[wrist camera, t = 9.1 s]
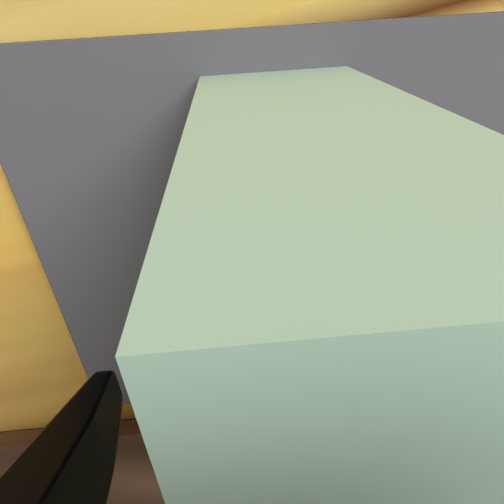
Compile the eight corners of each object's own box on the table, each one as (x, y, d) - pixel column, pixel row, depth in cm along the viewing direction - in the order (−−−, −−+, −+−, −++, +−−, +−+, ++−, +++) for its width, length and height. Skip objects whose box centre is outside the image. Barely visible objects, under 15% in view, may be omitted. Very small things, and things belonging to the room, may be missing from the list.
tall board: (326, 369, 17) (433, 729, 8) (234, 378, 17) (249, 752, 8) (346, 66, 11) (855, 290, 2) (199, 76, 10) (115, 357, 2)
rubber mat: (449, 362, 18) (456, 372, 18) (102, 394, 18) (99, 405, 17) (558, 7, 11) (575, 7, 10) (-33, 45, 10) (-47, 47, 10)
